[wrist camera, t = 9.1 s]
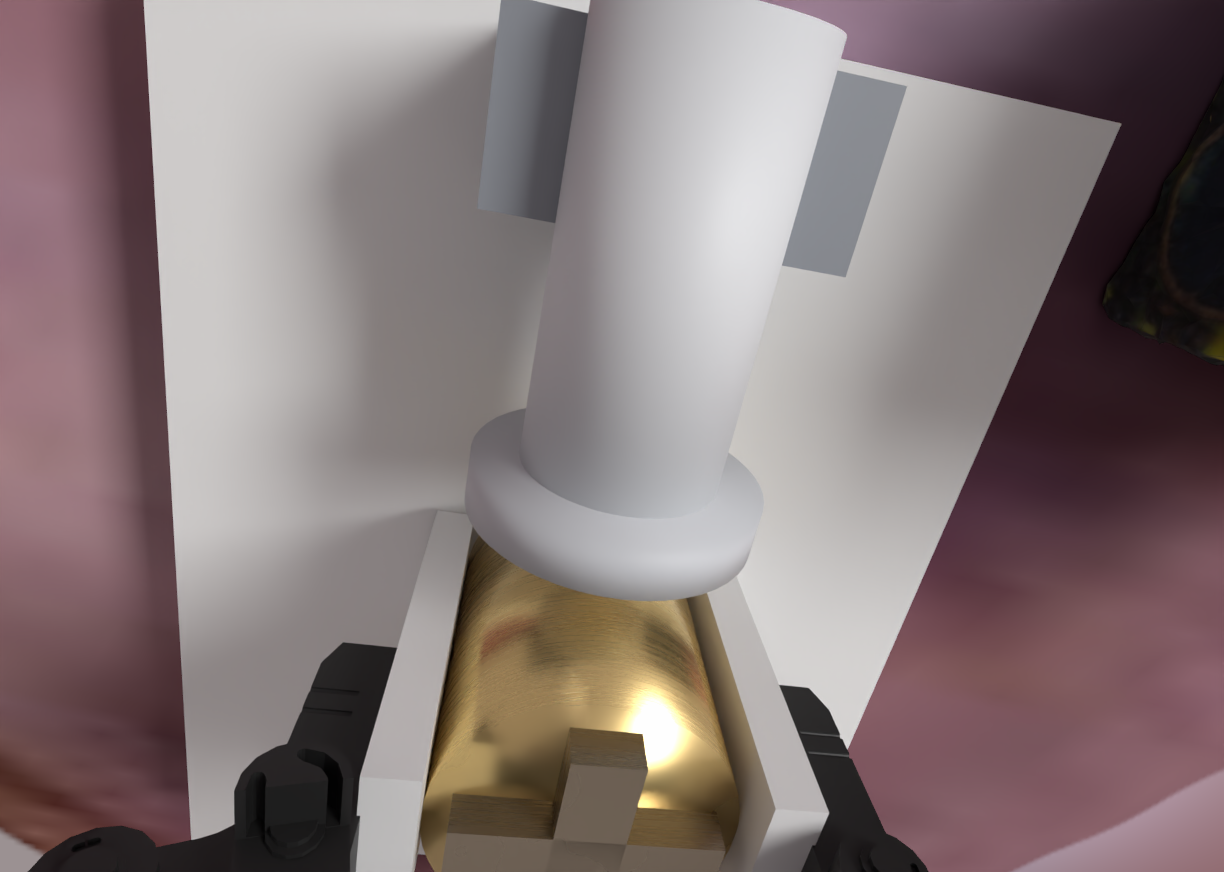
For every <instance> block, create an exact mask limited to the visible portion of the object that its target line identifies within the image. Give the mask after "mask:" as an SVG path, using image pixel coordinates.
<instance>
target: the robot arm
mask: <svg viewBox="0 0 1224 872" xmlns="http://www.w3.org/2000/svg"><path fill="white" fill-rule="evenodd" d="M472 532H473V526H472V524H471V522H470V520H469V518H468V515H467V514H462V513H454V512H446V511H439V510H437V513H436V517H435V520H434V524H433V527H432V530H431V534H430V537H429V541H428V544H427V548H426V551H425V554H424V558H423V561H422V565H421V568H420V572H419V575H418V579H417V582H416V585H415V589H414V592H413V596H412V599H411V603H410V606H409V609H408V613H407V616H406V620H405V623H404V627H403V630H402V633H401V637H400V640H399V644H398V647H397V648H394V647H385V646H375V645H365V644H355V643H346V642H343V643H342V644H341V645H340V646H338V647H337V648H336V649H335V650H334V651H333V652H332V653H331V654H330V655H329V656H328V657H327V658H325V659H324V660H323V661H322V662H321V664H320V667H319V669H318V671H317V674H316V676H315V679H314V681H313V683H312V686H311V690H310V692H309V693H308V695H307V698H306V700H305V702H304V705H303V708H302V712H300V714H299V717H298V719H297V721H296V724H295V726H294V729H293V731H292V733H291V736H290V738H289V740H288V743H287V744H284V745H280V746H276V747H275V748H273V749H271V750H269V751H267V752H265V753H263V754H262V755H260V756H258V757H256V758H255V759H254V761H253V762H252V763H251V764H250V765H249V766H248V767H247V768H246V769H245V770H244V771H243V772H242V773H241V775H240V778H239V780H238V783H237V785H236V787H235V790H234V825H232V826H230V827H228V828H226V829H224V830H222V831H220V832H218V833H215V834H212V835H209V836H205V837H202V838H199V839H194V840H189V841H185V842H180V843H175V844H171V845H166V846H161V847H157V848H156V845H155V843H154V842H153V841H152V840H151V839H150V838H149V837H148V836H147V835H145V834H144V833H143V832H142V831H139V830H135V829H132V828H128V827H124V826H115V827H103V828H95V829H93V830H90V831H87V832H84V833H81V834H79V835H76V836H73V837H70V838H68V839H67V840H65V841H64V842H62V843H61V844H59V845H58V846H56V847H54V848H53V849H51V850H50V851H48V852H47V853H45V854H44V855H43V856H42V857H41V858H40V859H39V860H38V862H37V863H36V864H35V865H34V866H33V867H32V868H31V869H30V870H29V871H28V872H414V871H415V866H416V861H417V855H418V850H419V844H420V839H421V836H420V823H421V815H422V807H423V801H424V795H425V790H426V785H427V779H428V774H429V769H430V763H431V758H432V753H433V747H434V742H435V737H436V731H437V726H438V721H439V715H440V710H441V705H442V699H443V694H444V689H445V683H446V678H447V673H448V667H449V662H450V657H451V651H452V646H453V641H454V636H455V630H456V625H457V620H458V614H459V609H460V604H461V598H462V593H463V588H464V582H465V577H466V572H467V566H468V561H469V554H470V546H471V539H472ZM687 601H688V605H689V608H690V612H691V616H692V620H693V624H694V627H695V631H696V635H697V639H698V643H699V647H700V650H701V654H702V658H703V662H704V666H705V669H706V673H707V677H708V681H709V685H710V689H711V692H712V696H713V700H714V704H715V708H716V711H717V715H718V719H719V723H720V727H721V731H722V734H723V738H724V742H725V746H726V750H727V753H728V757H729V761H730V765H731V769H732V772H733V776H734V780H735V784H736V788H737V792H738V795H739V806H740V814H739V824H738V828H737V831H736V834H735V837H734V839H733V842H732V845H731V847H730V849H729V851H728V853H727V854H726V856H725V857H724V859H723V860H722V863H721V865H720V868H719V871H718V872H928V870H927V868H926V866H925V865H924V864H923V862H922V861H921V860H920V859H919V858H918V856H917V855H916V854H915V853H914V852H913V850H911V849H910V848H909V847H907V846H906V845H905V844H903V843H902V842H901V841H899V840H898V839H897V838H895V837H893V836H890V835H888V834H886V832H885V831H884V828H883V826H882V824H881V822H880V820H879V818H878V815H877V813H876V811H875V809H874V807H873V805H872V802H871V800H870V798H869V796H868V794H867V791H866V789H865V787H864V785H863V783H862V781H861V778H860V776H859V774H858V772H857V770H856V767H855V765H854V763H853V761H852V759H849V752H848V750H847V748H846V746H845V744H844V741H843V739H840V733H839V730H838V728H837V726H836V724H835V722H834V720H833V717H832V715H831V713H830V711H829V709H828V708H827V707H826V706H825V705H824V704H823V703H822V702H821V701H820V699H819V698H818V697H817V696H816V695H815V694H814V693H813V692H812V691H811V690H810V689H809V688H806V687H796V686H786V685H779V684H778V681H777V678H776V676H775V673H774V671H773V668H772V666H771V663H770V661H769V658H768V655H767V653H766V650H765V648H764V645H763V643H762V640H761V638H760V635H759V633H758V630H757V627H756V625H755V622H754V620H753V617H752V615H751V612H750V610H749V607H748V604H747V602H746V599H745V597H744V594H743V592H742V589H741V587H740V584H739V582H738V579H737V576H736V577H735V578H733V579H732V580H731V581H730V582H728V583H727V584H725V585H723V586H721V587H719V588H718V589H716V590H713V591H710V592H707V593H705V594H702V595H698V596H693V597H689V598H687Z"/></svg>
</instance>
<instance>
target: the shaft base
mask: <svg viewBox="0 0 1224 872" xmlns="http://www.w3.org/2000/svg"><path fill="white" fill-rule="evenodd" d="M144 14H145V32H146V50H147V67H148V85H149V103H150V120H151V138H152V155H153V173H154V191H155V208H156V226H157V244H158V261H159V279H160V296H161V314H162V332H163V349H164V367H165V385H166V402H167V420H168V437H169V455H170V473H171V490H172V508H173V526H174V543H175V561H176V578H177V596H178V614H179V631H180V649H181V667H182V684H183V702H184V719H185V737H186V755H187V772H188V790H189V808H190V825H191V840H194V839H199V838H202V837H205V836H209V835H212V834H215V833H218V832H220V831H222V830H224V829H226V828H228V827H230V826H232V825H234V790H235V787H236V785H237V783H238V780H239V778H240V775H241V773H242V772H243V771H244V770H245V769H246V768H247V767H248V766H249V765H250V764H251V763H252V762H253V761H254V759H255V758H256V757H258V756H260V755H262V754H263V753H265V752H267V751H269V750H271V749H273V748H275V747H276V746H280V745H284V744H287V743H288V740H289V738H290V736H291V733H292V731H293V729H294V726H295V724H296V721H297V719H298V717H299V714H300V712H302V708H303V705H304V702H305V700H306V698H307V695H308V693H309V692H310V690H311V686H312V683H313V681H314V679H315V676H316V674H317V671H318V669H319V667H320V664H321V662H322V661H323V660H324V659H325V658H327V657H328V656H329V655H330V654H331V653H332V652H333V651H334V650H335V649H336V648H337V647H338V646H340V645H341V644H342V643H343V642H346V643H355V644H365V645H375V646H385V647H394V648H397V647H398V644H399V640H400V637H401V633H402V630H403V627H404V623H405V620H406V616H407V613H408V609H409V606H410V603H411V599H412V596H413V592H414V589H415V585H416V582H417V579H418V575H419V572H420V568H421V565H422V561H423V558H424V554H425V551H426V548H427V544H428V541H429V537H430V534H431V530H432V527H433V524H434V520H435V517H436V513H437V510H439V511H446V512H454V513H462V514H467V515H468V518H469V520H470V522H471V524H472V526H473V532H472V539H471V546H470V552H471V550H472V547H473V545H474V543H475V541H476V539H477V538H478V536H479V535H480V537H481V538H482V539H483V540H484V541H485V542H486V543H487V544H488V545H489V546H490V547H491V548H493V549H494V550H495V551H496V552H497V553H499V554H500V555H501V556H502V557H504V558H505V559H507V560H509V561H510V562H512V563H513V564H515V565H516V566H518V567H520V568H522V569H524V570H525V571H527V572H529V573H531V574H533V575H535V576H537V577H540V578H542V579H545V580H547V581H549V582H552V583H554V584H557V585H560V586H563V587H566V588H569V589H572V590H576V591H579V592H584V593H588V594H592V595H596V596H602V597H608V598H614V599H621V600H634V601H667V600H676V599H684V598H689V597H693V596H698V595H702V594H705V593H707V592H710V591H713V590H716V589H718V588H719V587H721V586H723V585H725V584H727V583H728V582H730V581H731V580H732V579H733V578H735V577H736V576H737V579H738V582H739V584H740V587H741V589H742V592H743V594H744V597H745V599H746V602H747V604H748V607H749V610H750V612H751V615H752V617H753V620H754V622H755V625H756V627H757V630H758V633H759V635H760V638H761V640H762V643H763V645H764V648H765V650H766V653H767V655H768V658H769V661H770V663H771V666H772V668H773V671H774V673H775V676H776V678H777V681H778V684H779V685H786V686H796V687H806V688H809V689H810V690H811V691H812V692H813V693H814V694H815V695H816V696H817V697H818V698H819V699H820V701H821V702H822V703H823V704H824V705H825V706H826V707H827V708H828V709H829V711H830V713H831V715H832V717H833V720H834V722H835V724H836V726H837V728H838V730H839V733H840V739H843V741H844V744H845V746H846V748H847V749H848V747H849V745H850V743H851V740H852V738H853V736H854V733H855V731H856V729H857V727H858V724H859V722H860V720H861V717H862V715H863V713H864V711H865V708H866V706H867V704H868V701H869V699H870V697H871V695H872V692H873V690H874V688H875V685H876V683H877V681H878V679H879V676H880V674H881V672H882V669H883V667H884V665H885V663H886V660H887V658H888V656H889V653H890V651H891V649H892V647H893V644H894V642H895V640H896V637H897V635H898V633H899V631H900V628H901V626H902V624H903V621H904V619H905V617H906V615H907V612H908V610H909V608H910V606H911V603H912V601H913V599H914V596H915V594H916V592H917V590H918V587H919V585H920V583H921V580H922V578H923V576H924V574H925V571H926V569H927V567H928V564H929V562H930V560H931V558H932V555H933V553H934V551H935V548H936V546H937V544H938V542H939V539H940V537H941V535H942V532H943V530H944V528H945V526H946V523H947V521H948V519H949V516H950V514H951V512H952V510H953V507H954V505H955V503H956V500H957V498H958V496H959V494H960V491H961V489H962V487H963V484H964V482H965V480H966V478H967V475H968V473H969V471H970V468H971V466H972V464H973V462H974V459H975V457H976V455H977V453H978V450H979V448H980V446H981V443H982V441H983V439H984V437H985V434H986V432H987V430H988V427H989V425H990V423H991V421H992V418H993V416H994V414H995V411H996V409H997V407H998V405H999V402H1000V400H1001V398H1002V395H1003V393H1004V391H1005V389H1006V386H1007V384H1008V382H1009V379H1010V377H1011V375H1012V373H1013V370H1014V368H1015V366H1016V363H1017V361H1018V359H1019V357H1020V354H1021V352H1022V350H1023V347H1024V345H1025V343H1026V341H1027V338H1028V336H1029V334H1030V331H1031V329H1032V327H1033V325H1034V322H1035V320H1036V318H1037V316H1038V313H1039V311H1040V309H1041V306H1042V304H1043V302H1044V300H1045V297H1046V295H1047V293H1048V290H1049V288H1050V286H1051V284H1052V281H1053V279H1054V277H1055V274H1056V272H1057V270H1058V268H1059V265H1060V263H1061V261H1062V258H1063V256H1064V254H1065V252H1066V249H1067V247H1068V245H1069V242H1070V240H1071V238H1072V236H1073V233H1074V231H1075V229H1076V226H1077V224H1078V222H1079V220H1080V217H1081V215H1082V213H1083V210H1084V208H1085V206H1086V204H1087V201H1088V199H1089V197H1090V194H1091V192H1092V190H1093V188H1094V185H1095V183H1096V181H1097V178H1098V176H1099V174H1100V172H1101V169H1102V167H1103V165H1104V163H1105V160H1106V158H1107V156H1108V153H1109V151H1110V149H1111V147H1112V144H1113V142H1114V140H1115V137H1116V135H1117V133H1118V131H1119V128H1120V126H1121V123H1117V122H1113V121H1108V120H1104V119H1100V118H1095V117H1091V116H1087V115H1082V114H1078V113H1074V112H1069V111H1065V110H1061V109H1057V108H1052V107H1048V106H1044V105H1039V104H1035V103H1031V102H1026V101H1022V100H1018V99H1013V98H1009V97H1005V96H1000V95H996V94H992V93H988V92H983V91H979V90H975V89H970V88H966V87H962V86H957V85H953V84H949V83H944V82H940V81H936V80H931V79H927V78H923V77H919V76H914V75H910V74H906V73H901V72H897V71H893V70H888V69H884V68H880V67H875V66H871V65H867V64H862V63H858V62H854V61H849V60H845V59H841V56H842V53H843V49H844V46H845V42H846V39H847V35H846V33H845V32H844V31H842V30H841V29H839V28H838V27H836V26H834V25H832V24H830V23H828V22H825V21H823V20H820V19H818V18H815V17H812V16H809V15H807V14H804V13H801V12H797V11H794V10H791V9H788V8H784V7H781V6H777V5H774V4H770V3H766V2H762V1H758V0H144ZM469 555H470V554H469ZM418 854H421V855H425V852H424V849H423V846H422V842H421V839H420V844H419V850H418Z"/></svg>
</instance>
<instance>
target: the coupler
mask: <svg viewBox="0 0 1224 872" xmlns="http://www.w3.org/2000/svg"><path fill="white" fill-rule="evenodd" d="M739 814H740V806H739V795H738V792H737V788H736V784H735V780H734V776H733V772H732V769H731V765H730V761H729V757H728V753H727V750H726V746H725V742H724V738H723V734H722V731H721V727H720V723H719V719H718V715H717V711H716V708H715V704H714V700H713V696H712V692H711V689H710V685H709V681H708V677H707V673H706V669H705V666H704V662H703V658H702V654H701V650H700V647H699V643H698V639H697V635H696V631H695V627H694V624H693V620H692V616H691V612H690V608H689V605H688V601H687V598H684V599H676V600H667V601H634V600H621V599H614V598H608V597H602V596H596V595H592V594H588V593H584V592H579V591H576V590H572V589H569V588H566V587H563V586H560V585H557V584H554V583H552V582H549V581H547V580H545V579H542V578H540V577H537V576H535V575H533V574H531V573H529V572H527V571H525V570H524V569H522V568H520V567H518V566H516V565H515V564H513V563H512V562H510V561H509V560H507V559H505V558H504V557H502V556H501V555H500V554H499V553H497V552H496V551H495V550H494V549H493V548H491V547H490V546H489V545H488V544H487V543H486V542H485V541H484V540H483V539H482V538H481V537H480V535H479V536H478V538H477V539H476V541H475V543H474V545H473V547H472V550H471V552H470V555H469V561H468V566H467V572H466V577H465V582H464V588H463V593H462V598H461V604H460V609H459V614H458V620H457V625H456V630H455V636H454V641H453V646H452V651H451V657H450V662H449V667H448V673H447V678H446V683H445V689H444V694H443V699H442V705H441V710H440V715H439V721H438V726H437V731H436V737H435V742H434V747H433V753H432V758H431V763H430V769H429V774H428V779H427V785H426V790H425V795H424V801H423V807H422V815H421V823H420V836H421V842H422V846H423V849H424V852H425V855H426V857H427V860H428V861H429V863H430V865H431V867H432V868H433V870H434V872H718V871H719V868H720V865H721V863H722V860H723V859H724V857H725V856H726V854H727V853H728V851H729V849H730V847H731V845H732V842H733V839H734V837H735V834H736V831H737V828H738V824H739Z"/></svg>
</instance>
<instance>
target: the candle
mask: <svg viewBox="0 0 1224 872" xmlns="http://www.w3.org/2000/svg"><path fill="white" fill-rule="evenodd" d="M1102 304H1103V306H1104V309H1105V311H1106V313H1107V315H1108V317H1109V318H1110V319H1111V320H1113V321H1115V322H1116V323H1118V324H1119V325H1121V326H1124V327H1128V328H1131V329H1132V330H1134V331H1135V332H1137V333H1139V334H1140V335H1142V336H1143V337H1145V338H1149V339H1156V340H1157V341H1158V343H1159V344H1161V343H1164V342H1167V343H1169V344H1172V345H1174V346H1177V347H1179V348H1181V349H1184V350H1185V351H1187V352H1189V353H1191V354H1193V355H1195V356H1197V357H1199V358H1201V359H1203V360H1205V361H1206V362H1208V363H1210V364H1214V365H1224V79H1223V81H1222V83H1221V85H1220V87H1219V89H1218V91H1217V93H1216V95H1215V97H1214V99H1213V101H1212V103H1211V105H1210V107H1209V109H1208V110H1207V112H1206V114H1205V116H1204V118H1203V120H1202V122H1201V124H1200V126H1199V128H1198V129H1197V131H1196V133H1195V135H1194V137H1193V139H1192V141H1191V143H1190V145H1189V147H1188V149H1187V151H1186V153H1185V154H1184V156H1183V158H1182V160H1181V162H1180V163H1179V164H1178V165H1177V167H1176V168H1175V169H1174V170H1173V171H1172V173H1171V174H1170V175H1169V176H1168V177H1167V179H1166V180H1165V181H1164V184H1163V188H1162V193H1161V197H1160V200H1159V203H1158V206H1157V209H1156V212H1155V213H1154V215H1153V216H1152V217H1151V219H1150V220H1149V221H1148V223H1147V224H1146V225H1145V227H1144V229H1143V230H1142V232H1141V233H1140V235H1139V237H1138V238H1137V240H1136V241H1135V243H1134V245H1133V246H1132V248H1131V250H1130V252H1129V254H1128V256H1127V258H1126V260H1125V262H1124V263H1123V264H1122V266H1121V267H1120V268H1119V270H1118V271H1117V272H1116V274H1115V275H1114V276H1113V278H1112V279H1111V280H1110V282H1109V283H1108V284H1107V287H1106V291H1105V295H1104V299H1103V303H1102Z"/></svg>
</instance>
